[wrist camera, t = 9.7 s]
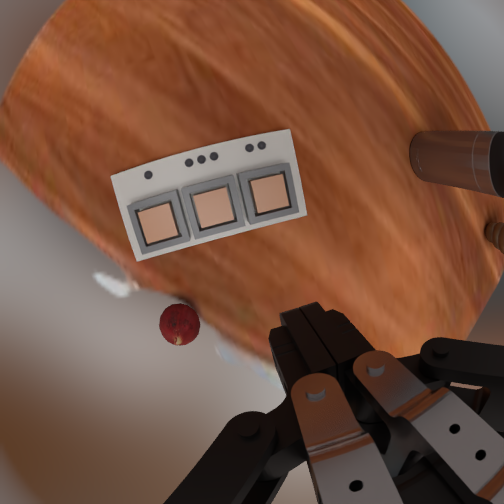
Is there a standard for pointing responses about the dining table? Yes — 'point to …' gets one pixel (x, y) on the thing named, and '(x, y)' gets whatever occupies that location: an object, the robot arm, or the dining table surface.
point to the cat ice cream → (496, 235)
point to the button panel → (207, 178)
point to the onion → (179, 324)
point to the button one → (158, 222)
